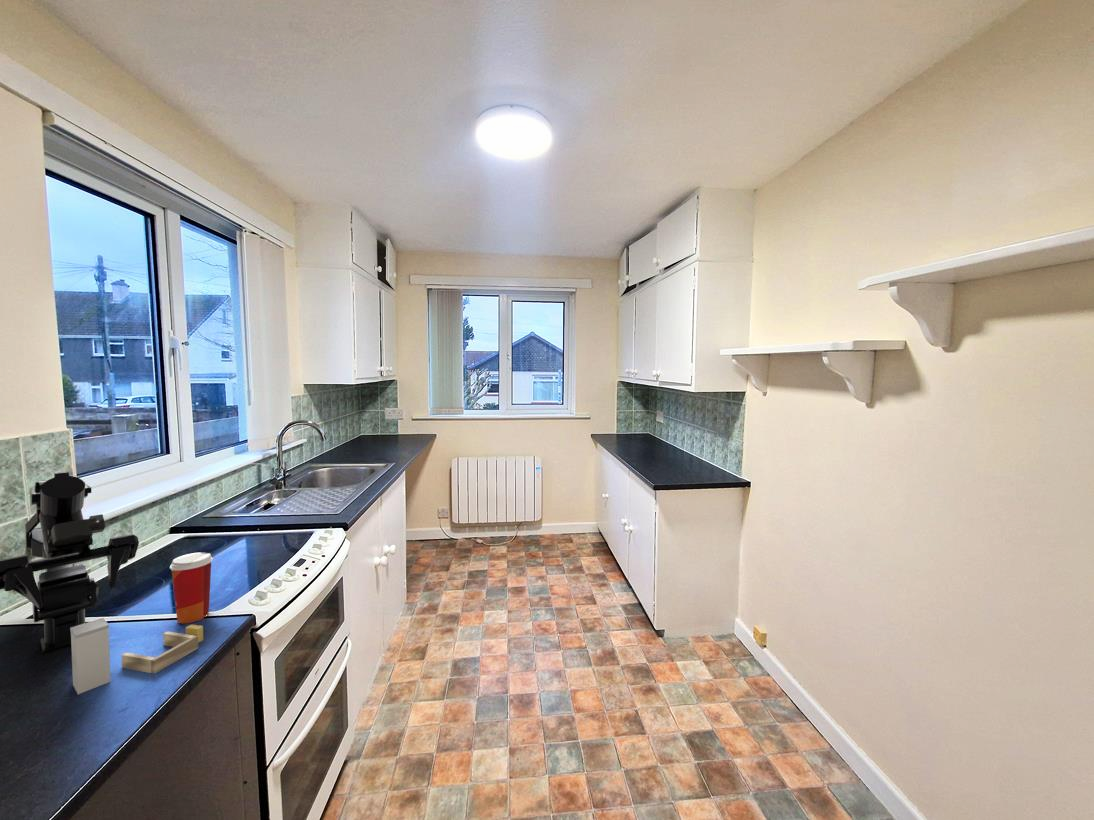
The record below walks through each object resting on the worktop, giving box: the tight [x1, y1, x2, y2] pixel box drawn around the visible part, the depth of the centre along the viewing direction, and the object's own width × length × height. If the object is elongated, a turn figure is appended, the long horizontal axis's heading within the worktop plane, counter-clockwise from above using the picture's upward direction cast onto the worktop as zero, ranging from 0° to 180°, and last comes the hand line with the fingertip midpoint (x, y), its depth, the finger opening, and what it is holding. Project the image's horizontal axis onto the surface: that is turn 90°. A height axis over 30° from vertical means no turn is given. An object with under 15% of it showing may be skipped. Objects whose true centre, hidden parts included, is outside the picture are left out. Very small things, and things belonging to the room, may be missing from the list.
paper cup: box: [169, 551, 214, 625], centre depth 99 cm, size 8×8×14 cm
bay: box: [121, 630, 199, 674], centre depth 84 cm, size 8×8×2 cm
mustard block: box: [185, 623, 204, 644], centre depth 90 cm, size 3×1×3 cm, turn 78°
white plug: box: [70, 617, 111, 695], centre depth 77 cm, size 4×4×10 cm
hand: (78, 597), depth 80 cm, fingers open, 9 cm apart
